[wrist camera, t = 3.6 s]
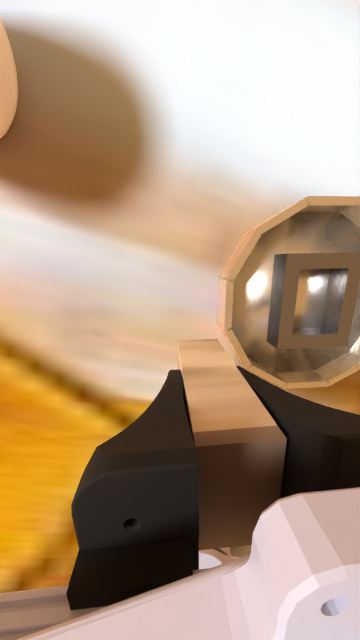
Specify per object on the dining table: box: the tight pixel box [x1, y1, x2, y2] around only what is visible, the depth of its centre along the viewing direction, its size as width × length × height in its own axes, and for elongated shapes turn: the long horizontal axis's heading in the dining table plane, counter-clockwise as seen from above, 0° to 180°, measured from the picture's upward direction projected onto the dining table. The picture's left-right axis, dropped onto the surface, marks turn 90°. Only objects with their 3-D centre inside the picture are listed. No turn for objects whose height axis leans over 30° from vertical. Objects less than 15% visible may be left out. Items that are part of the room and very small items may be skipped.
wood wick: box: [178, 339, 287, 550], centre depth 10 cm, size 4×2×8 cm, turn 2°
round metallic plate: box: [217, 196, 360, 389], centre depth 19 cm, size 16×16×2 cm
